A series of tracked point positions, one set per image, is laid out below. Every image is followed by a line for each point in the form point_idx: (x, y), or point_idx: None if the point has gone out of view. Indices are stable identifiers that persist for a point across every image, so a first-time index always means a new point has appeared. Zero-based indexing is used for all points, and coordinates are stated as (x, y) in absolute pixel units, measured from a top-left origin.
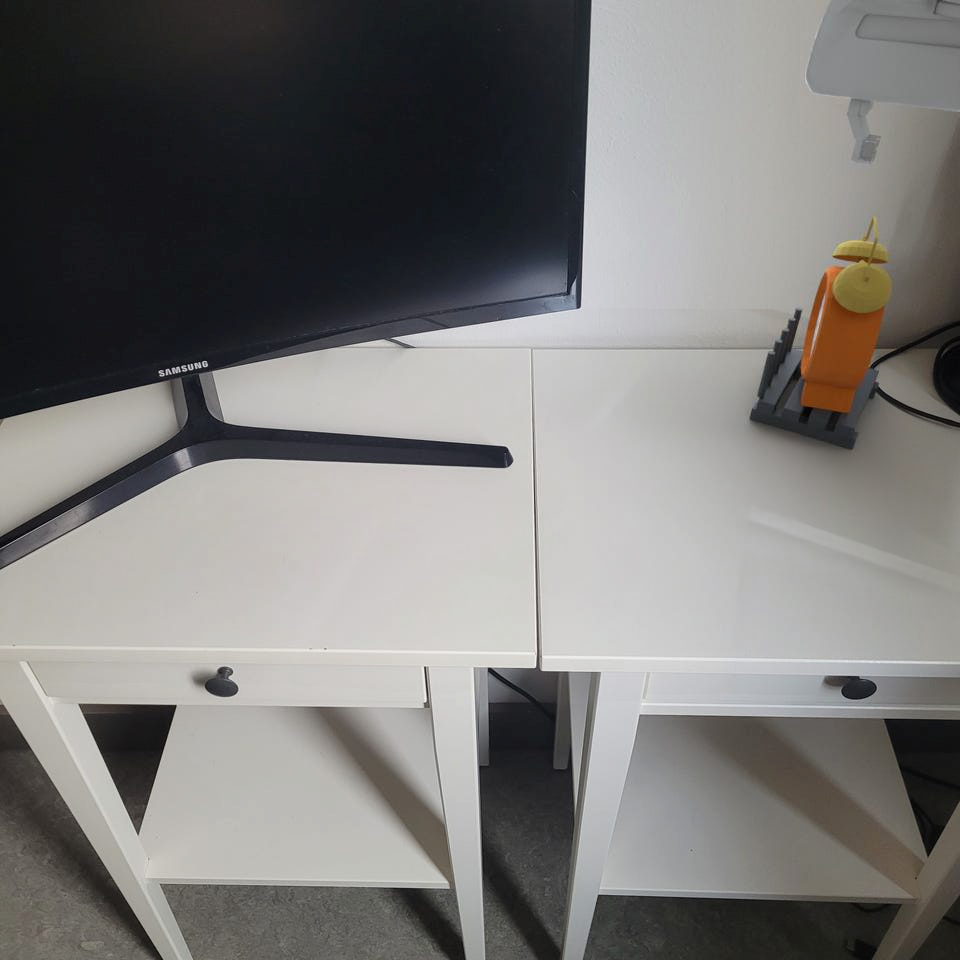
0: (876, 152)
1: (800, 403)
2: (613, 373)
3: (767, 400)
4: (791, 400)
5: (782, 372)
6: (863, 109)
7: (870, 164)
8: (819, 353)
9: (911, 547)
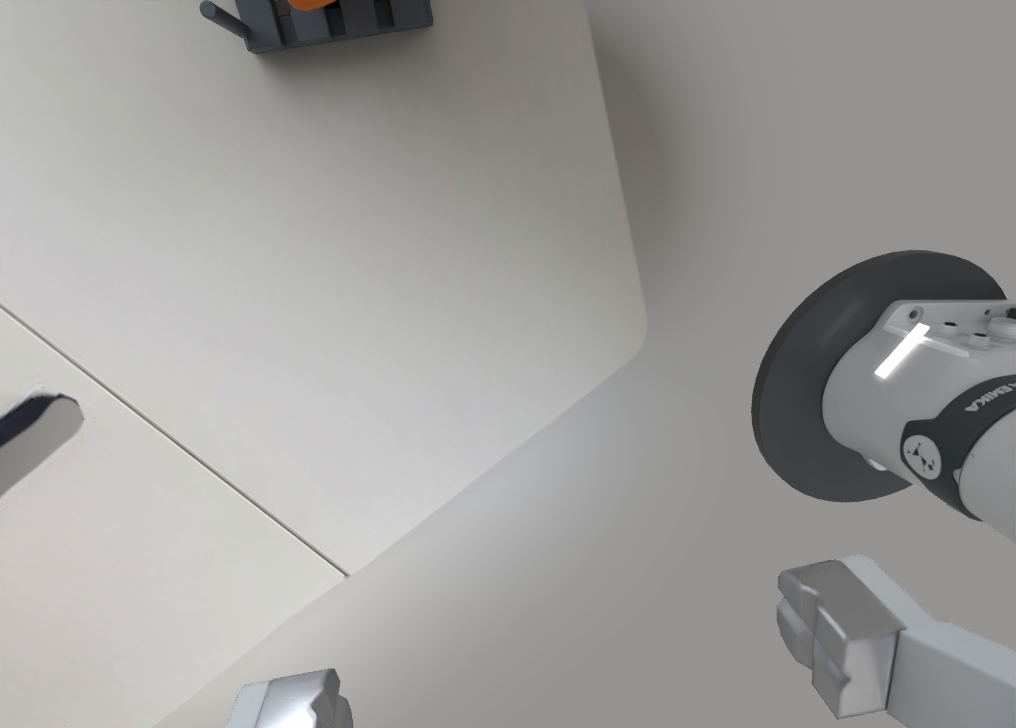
0: (324, 685)
1: None
2: None
3: (262, 37)
4: None
5: None
6: None
7: (352, 721)
8: (306, 8)
9: (577, 204)
